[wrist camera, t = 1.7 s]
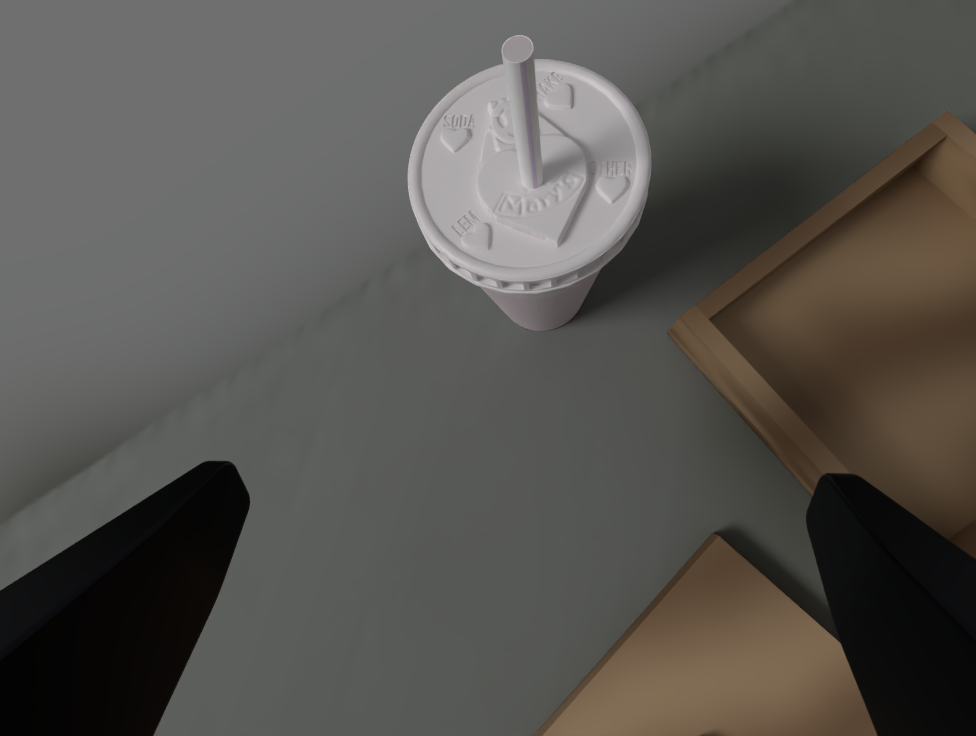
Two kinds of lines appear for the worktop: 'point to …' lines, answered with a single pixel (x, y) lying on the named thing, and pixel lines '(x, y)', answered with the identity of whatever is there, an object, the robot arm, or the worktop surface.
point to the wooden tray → (864, 334)
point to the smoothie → (530, 182)
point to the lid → (718, 664)
